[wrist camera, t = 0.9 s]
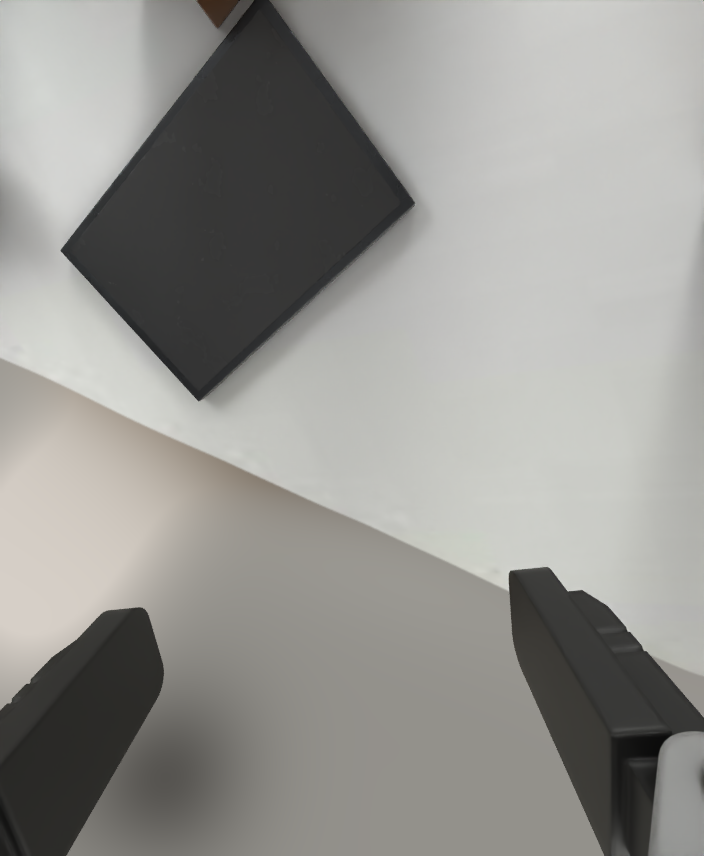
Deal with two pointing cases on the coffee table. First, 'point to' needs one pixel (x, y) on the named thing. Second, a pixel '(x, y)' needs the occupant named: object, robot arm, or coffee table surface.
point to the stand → (217, 9)
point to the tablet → (237, 206)
